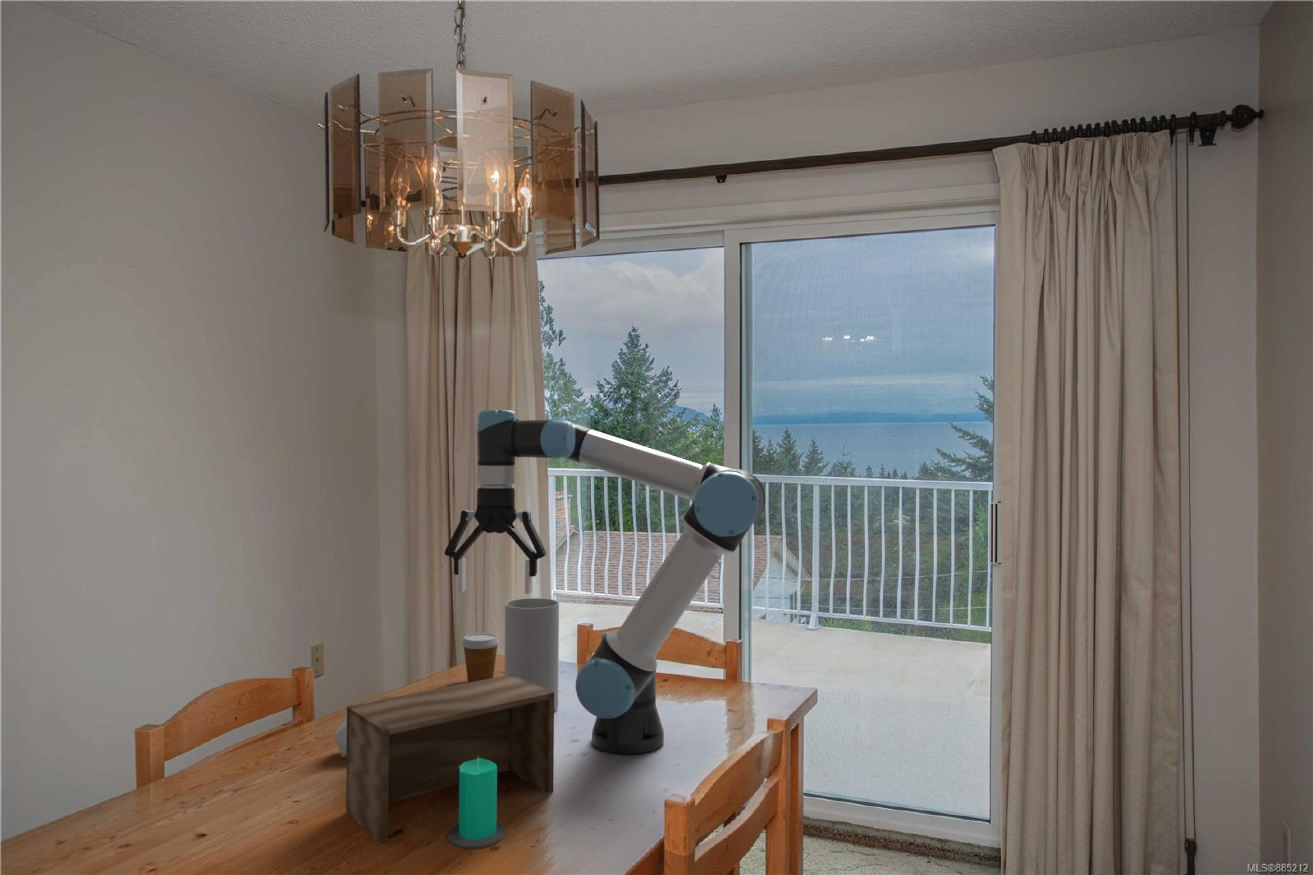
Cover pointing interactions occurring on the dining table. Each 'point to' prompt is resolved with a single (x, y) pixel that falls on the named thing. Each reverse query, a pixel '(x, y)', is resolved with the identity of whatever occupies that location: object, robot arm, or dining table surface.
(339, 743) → the die
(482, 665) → the disposable coffee cup
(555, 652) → the cylinder vase
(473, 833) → the candle
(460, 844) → the coaster
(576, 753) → the dining table surface
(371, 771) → the cubby
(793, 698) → the dining table surface
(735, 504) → the robot arm
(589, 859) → the dining table surface
